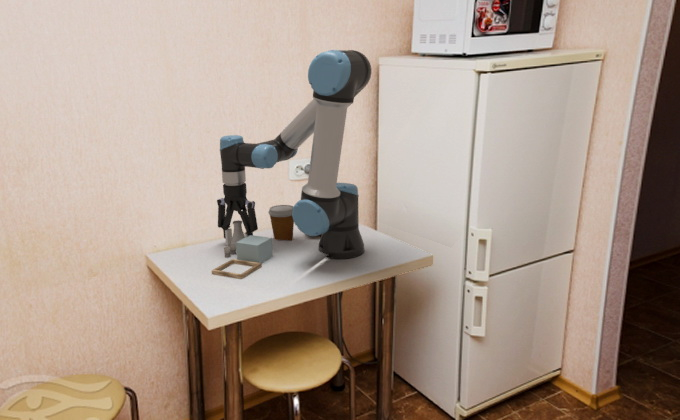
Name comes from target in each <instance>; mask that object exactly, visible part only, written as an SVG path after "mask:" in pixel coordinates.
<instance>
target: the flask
mask: <svg viewBox="0 0 680 420" xmlns="http://www.w3.org/2000/svg"><path fill="white" fill-rule="evenodd" d="M242 224H243V222H242V220H240V219H239V220H234V221H232V225H233V232H232V241H231V244H235V247H236V242H238V241H240V240H242V239H244V238H245V234H244V233H245V232H244V231H243V228H242V227H243V226H242ZM231 244H230V245H231Z"/></svg>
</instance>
